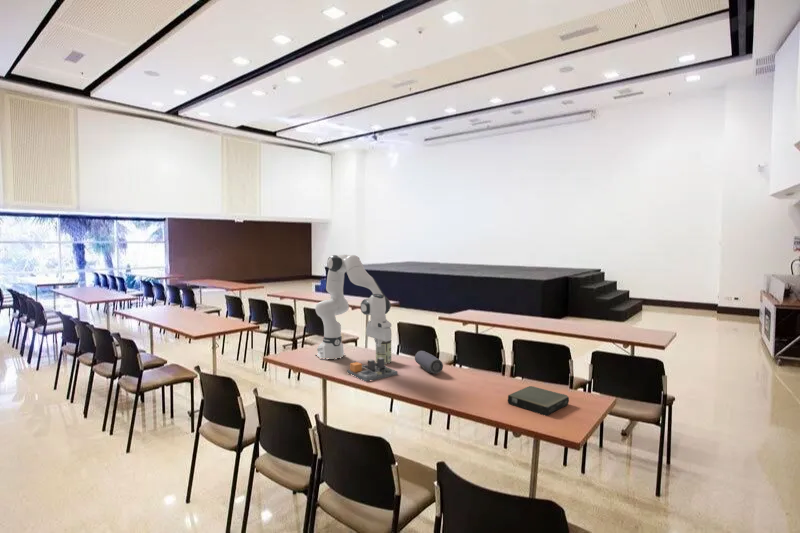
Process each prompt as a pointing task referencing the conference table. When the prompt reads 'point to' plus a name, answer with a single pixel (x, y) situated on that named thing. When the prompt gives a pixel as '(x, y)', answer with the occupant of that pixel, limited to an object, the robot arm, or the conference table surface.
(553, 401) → the network switch
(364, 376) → the panel
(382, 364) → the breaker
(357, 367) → the orange block
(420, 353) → the bluetooth speaker
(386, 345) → the coffee can
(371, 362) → the block
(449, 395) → the conference table surface
